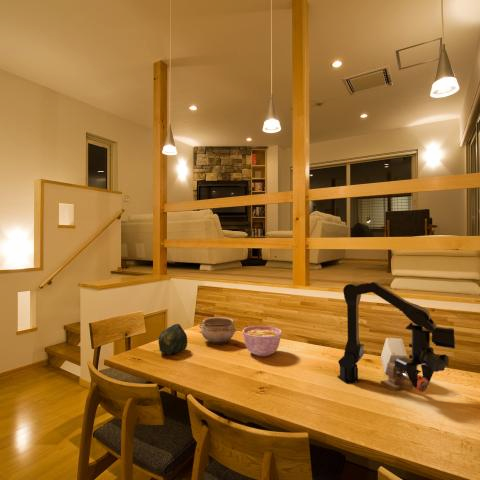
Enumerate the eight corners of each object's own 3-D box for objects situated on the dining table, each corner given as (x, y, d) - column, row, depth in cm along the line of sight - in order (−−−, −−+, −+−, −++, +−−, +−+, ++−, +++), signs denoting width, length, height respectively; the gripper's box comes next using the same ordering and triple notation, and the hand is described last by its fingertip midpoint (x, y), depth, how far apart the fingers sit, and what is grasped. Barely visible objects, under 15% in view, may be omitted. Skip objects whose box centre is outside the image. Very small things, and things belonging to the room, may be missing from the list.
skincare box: (400, 375, 130) (408, 357, 119) (383, 374, 131) (390, 356, 121) (395, 356, 136) (402, 337, 126) (379, 355, 137) (385, 337, 127)
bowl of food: (288, 351, 157) (288, 329, 157) (270, 364, 140) (270, 339, 140) (254, 344, 168) (254, 323, 168) (234, 355, 151) (234, 332, 151)
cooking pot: (244, 340, 175) (244, 319, 176) (231, 350, 158) (231, 327, 158) (206, 335, 185) (207, 315, 185) (190, 344, 168) (190, 322, 168)
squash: (147, 343, 153) (164, 322, 150) (165, 336, 167) (181, 317, 163) (164, 365, 148) (182, 344, 145) (181, 356, 162) (198, 337, 159)
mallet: (418, 393, 108) (418, 378, 108) (384, 374, 123) (384, 361, 123) (429, 391, 109) (429, 376, 109) (394, 373, 125) (394, 360, 125)
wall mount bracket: (392, 390, 116) (392, 368, 116) (380, 383, 122) (380, 362, 122) (412, 386, 119) (412, 365, 119) (400, 380, 125) (400, 359, 125)
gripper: (420, 353, 100) (420, 401, 99) (461, 347, 105) (461, 392, 105) (393, 342, 110) (393, 385, 110) (432, 338, 116) (432, 379, 116)
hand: (420, 386), depth 110 cm, fingers closed on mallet, 5 cm apart
